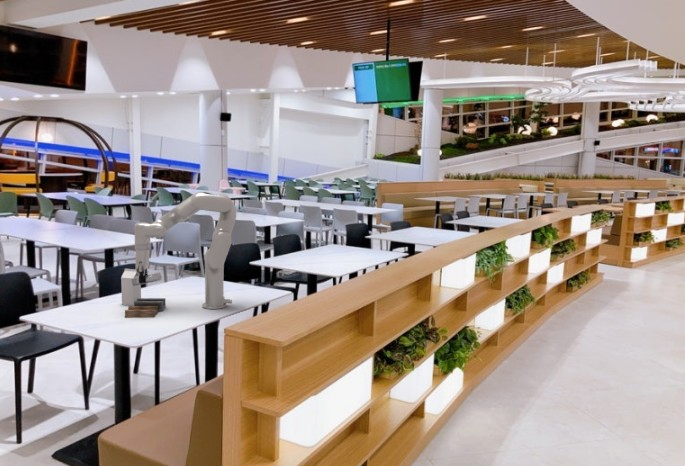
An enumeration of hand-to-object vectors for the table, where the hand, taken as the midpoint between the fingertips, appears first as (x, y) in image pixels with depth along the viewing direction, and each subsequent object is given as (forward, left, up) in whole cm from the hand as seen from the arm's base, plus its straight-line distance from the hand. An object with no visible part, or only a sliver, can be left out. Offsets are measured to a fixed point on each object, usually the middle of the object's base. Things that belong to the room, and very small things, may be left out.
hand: (143, 281), depth 297 cm
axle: (-2, 0, -1) cm, 2 cm away
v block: (-3, 0, -15) cm, 15 cm away
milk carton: (+9, -11, -15) cm, 21 cm away
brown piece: (-1, +10, -15) cm, 18 cm away
